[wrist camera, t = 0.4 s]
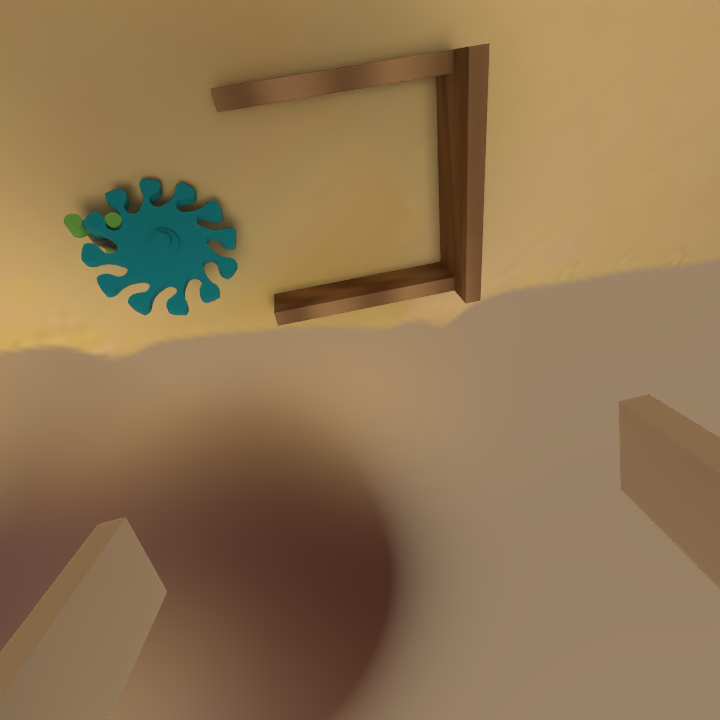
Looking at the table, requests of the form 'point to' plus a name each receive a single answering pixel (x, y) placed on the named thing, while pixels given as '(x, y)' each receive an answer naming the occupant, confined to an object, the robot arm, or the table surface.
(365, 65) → the wooden u-shaped enclosure
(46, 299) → the table surface
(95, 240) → the gear
